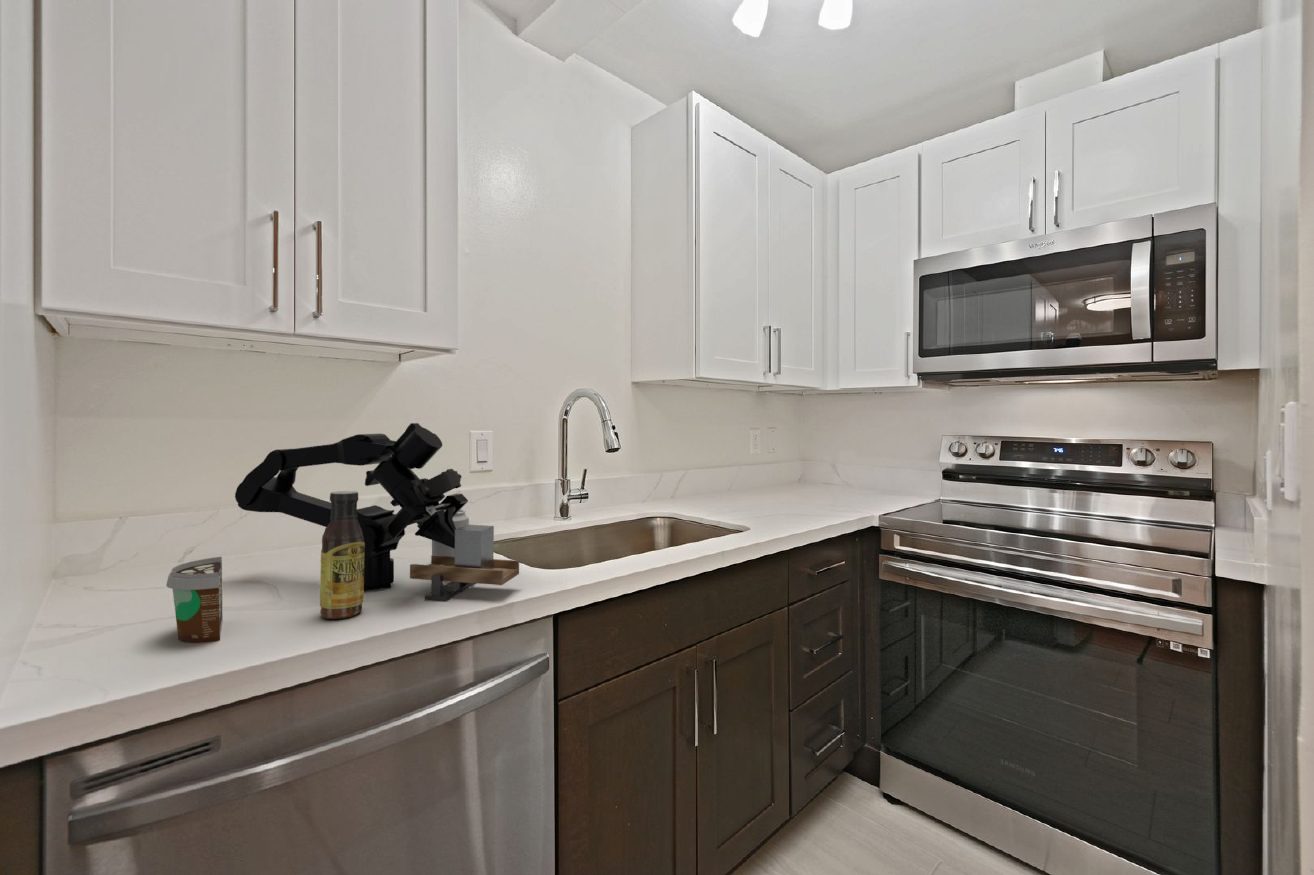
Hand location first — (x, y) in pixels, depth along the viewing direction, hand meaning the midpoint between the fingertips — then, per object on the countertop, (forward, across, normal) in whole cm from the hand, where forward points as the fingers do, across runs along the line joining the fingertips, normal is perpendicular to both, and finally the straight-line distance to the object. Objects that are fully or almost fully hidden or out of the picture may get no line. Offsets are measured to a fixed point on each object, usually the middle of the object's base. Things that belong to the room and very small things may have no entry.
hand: (460, 547), depth 106 cm
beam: (+4, 0, +3) cm, 5 cm away
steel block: (+5, 0, +1) cm, 5 cm away
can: (-2, +17, +14) cm, 22 cm away
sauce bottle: (-3, -15, +15) cm, 21 cm away
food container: (-14, -26, +25) cm, 39 cm away
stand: (+4, 0, +7) cm, 8 cm away
